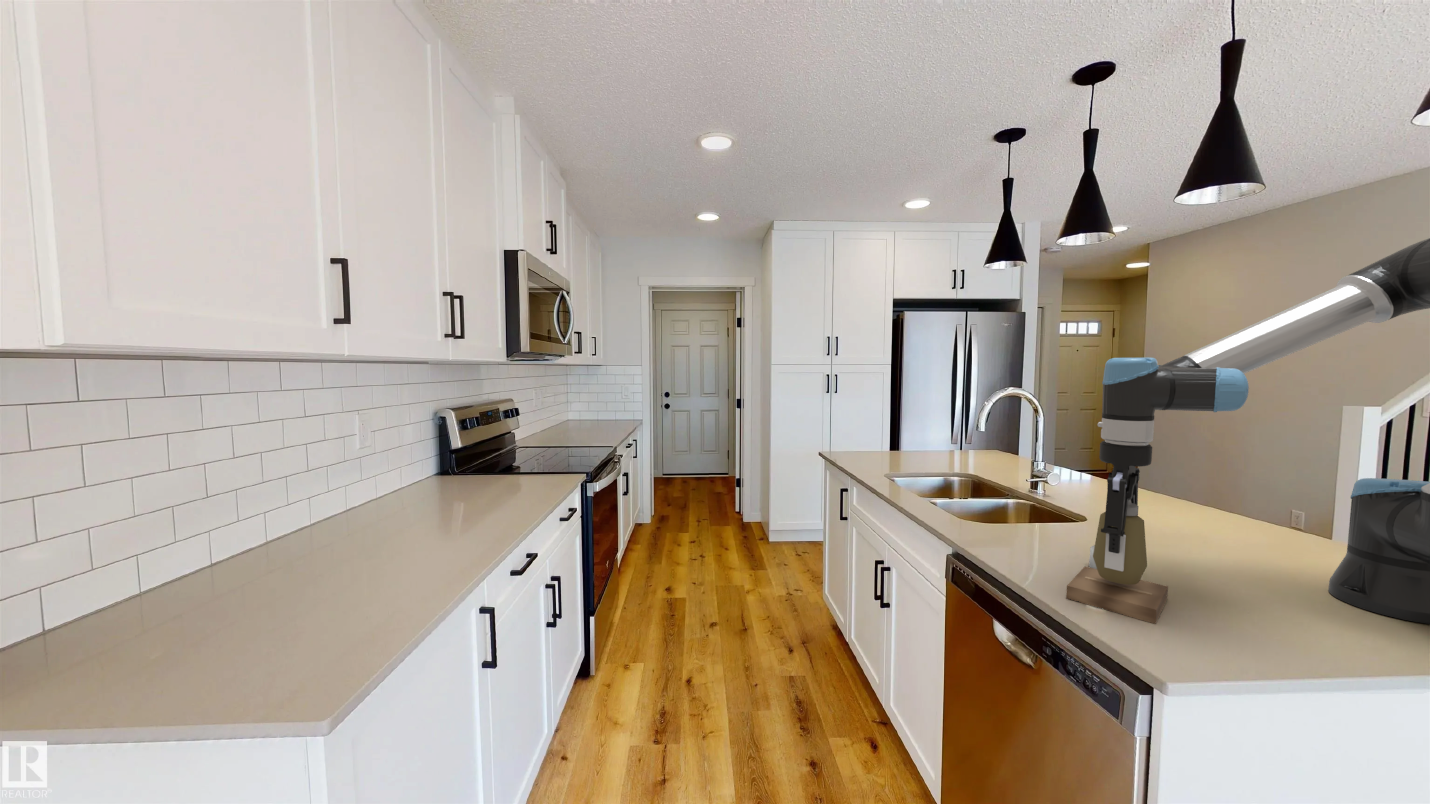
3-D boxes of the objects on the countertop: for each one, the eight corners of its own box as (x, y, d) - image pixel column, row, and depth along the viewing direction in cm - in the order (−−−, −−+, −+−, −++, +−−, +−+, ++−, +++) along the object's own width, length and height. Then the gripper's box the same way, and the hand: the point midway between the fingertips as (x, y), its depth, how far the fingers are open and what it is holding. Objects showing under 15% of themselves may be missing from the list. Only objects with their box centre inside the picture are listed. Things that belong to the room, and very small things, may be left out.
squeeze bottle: (1157, 585, 94) (1163, 488, 93) (1124, 591, 92) (1129, 492, 90) (1113, 567, 102) (1117, 478, 100) (1081, 573, 100) (1085, 481, 98)
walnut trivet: (1167, 599, 97) (1168, 585, 97) (1155, 624, 88) (1156, 609, 88) (1084, 577, 106) (1084, 565, 106) (1066, 598, 98) (1066, 584, 98)
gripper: (1113, 433, 104) (1107, 542, 106) (1086, 446, 90) (1080, 572, 92) (1161, 437, 99) (1154, 552, 101) (1141, 452, 85) (1133, 585, 87)
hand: (1119, 561), depth 97 cm, fingers closed on squeeze bottle, 8 cm apart
